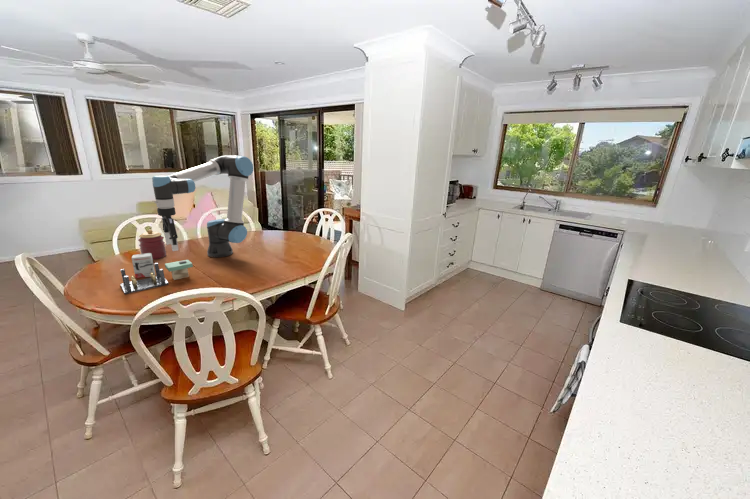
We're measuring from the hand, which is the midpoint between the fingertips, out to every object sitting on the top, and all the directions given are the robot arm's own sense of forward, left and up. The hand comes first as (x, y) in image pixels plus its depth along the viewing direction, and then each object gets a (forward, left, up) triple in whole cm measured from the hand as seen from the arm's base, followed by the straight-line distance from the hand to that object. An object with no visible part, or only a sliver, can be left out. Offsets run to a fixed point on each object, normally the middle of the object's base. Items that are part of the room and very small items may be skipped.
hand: (172, 247), depth 162 cm
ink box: (+12, -13, -17) cm, 25 cm away
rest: (-1, +1, -17) cm, 17 cm away
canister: (+2, -44, -17) cm, 48 cm away
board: (-1, +1, -11) cm, 11 cm away
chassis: (+15, +1, -17) cm, 22 cm away
